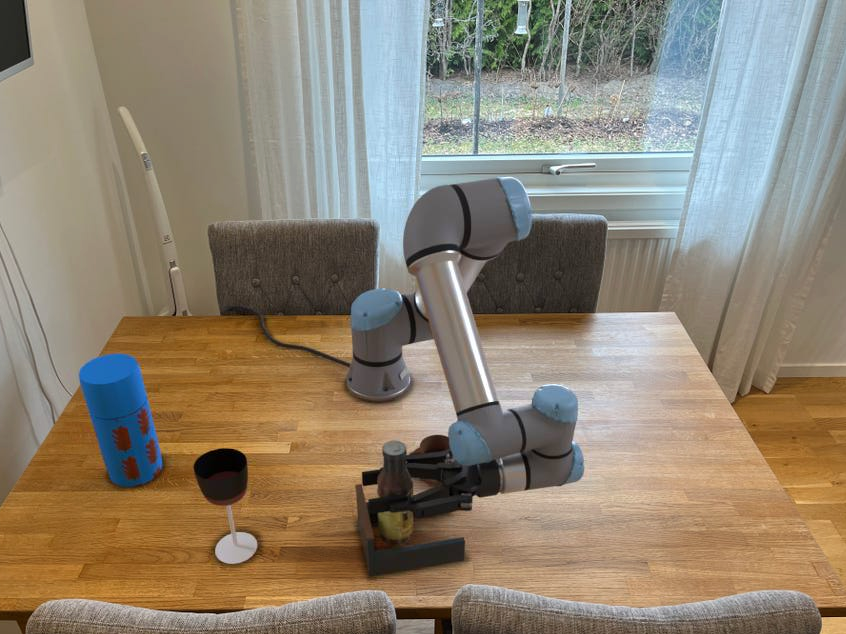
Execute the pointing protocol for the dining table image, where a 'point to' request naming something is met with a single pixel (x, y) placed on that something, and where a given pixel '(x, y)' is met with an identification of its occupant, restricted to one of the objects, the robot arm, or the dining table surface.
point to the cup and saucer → (432, 449)
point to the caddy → (405, 555)
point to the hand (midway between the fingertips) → (365, 492)
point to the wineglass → (226, 497)
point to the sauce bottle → (392, 483)
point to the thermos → (121, 418)
